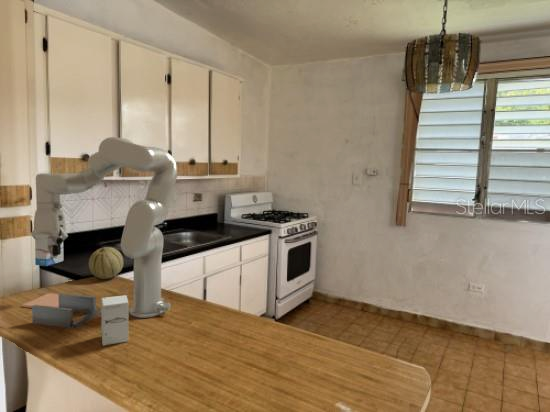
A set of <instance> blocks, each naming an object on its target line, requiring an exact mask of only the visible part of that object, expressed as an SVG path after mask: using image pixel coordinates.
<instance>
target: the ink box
mask: <svg viewBox="0 0 550 412" xmlns="http://www.w3.org/2000/svg"><path fill="white" fill-rule="evenodd" d="M60 235H61V234H60ZM60 237H62V236H60ZM56 239H57V238H56ZM53 245H54V242H53V239H52V237H51V235H50V234H44V233H36V234H35V239H34V248H35V249H34V254H35V263H34V264H35V265H34V266H42V267H49V266H51V265H55V264H58V263H61V262H64V241H63V242H62V244H61V254H60V255H57V256H53Z"/></svg>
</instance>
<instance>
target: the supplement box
mask: <svg viewBox="0 0 550 412" xmlns="http://www.w3.org/2000/svg"><path fill="white" fill-rule="evenodd" d="M100 301H101V302H100V306H101V308H100V309H101V313H100V315H101V329H100V330H101V332H100V333H101V340H102V341H101V343H102V346H103V347H105V346H109V345H113V344H120V343H126V342H129V337H130V336H129V333H130V332H129V315H130V314H129V309H130V308H129V305H130V304H129V300H128V295H126V294H125V295H118V296H117V295H115V296H107V297H106V296H105V297H101V298H100Z"/></svg>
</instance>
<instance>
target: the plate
mask: <svg viewBox="0 0 550 412" xmlns="http://www.w3.org/2000/svg"><path fill="white" fill-rule="evenodd" d="M58 294H59V293H51V292H48V293H46V294H44V295H41V296H39V297H37V298H35V299H33V300H30V301H27V302H26V303H23V304H21V308H26V309H32V306H33V305H42V306H51V307H59V296H58Z"/></svg>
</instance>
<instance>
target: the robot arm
mask: <svg viewBox="0 0 550 412" xmlns="http://www.w3.org/2000/svg"><path fill="white" fill-rule="evenodd" d="M87 163H88V166H87V167H86V168H84V169H82V170H80V171H79V172H77V173H48V172H47V173H41V172H40V173H37V174H36V176H35V195H36V196H35V198H36V203H35V204H36V210H35V212H34V218H33V230H32V231H31V232H30V235H31V236H32V238H34V239H33V240H35V234H36V233H44V234H50V235H51V237H52V239H53V242H54V245H53V256H57V255H60V254H61V244H62V242H63V243H64V241H66V239H68V237H69V235H68V233H67V232H66V229H67V228H66V220H65V215H64V211H63V210H61V209H62V208H63V204H61V196H62V195H71V194H81V193H84V192H86V191H89V190H90V189H92V188H94V187H95V186H97V185H98V184H100V183H101V182H102V181H103V180H104V179H105V177H106V176H108V175H110V174H111V173H112V172H115V171H116V170H118V169H120V168H126V169H129V170H134V171H137V172H144V173H146V172H147V173H148V172H151V173H153V176H152V178H151V180H150V181H149V184H148V188H147V192H146V195H145V197H144V199H141V200H137V201H136V202H134V203H133V204H132V205H131V207H130V208H129V210H128V212H127V215H126V218H125V224H124V227H123V231H122V235H121V239H120V248H121V251H122V253H123V255H124V256H126V257H127V258H129V259H133V260H134V261H133V305H132V306H131V307H130V308H129V315H130V316H132V317H134V318H138V319H139V318H141V319H142V318H143V319H146V318H147V319H149V318H154V317H158V316H160V315H162V314H163V313H165V311H170V310H171V307H172V305H171V302H165V299H164V297H162V258H163V250H164V242H165V241H164V235H163V233H162V231H161V230H160V229H159V228H158V227H156V226H157V225H160V224H162V223H164V221H165V220H166V219H167V217H168V213H169V209H170V206H171V201H172V198H173V195H174V194H173V193H174V189H175V186H176V181H177V177H178V165H177V162H176V160H175V159H174V157H173V156H172V155H171V153H169V152H168V151H166V150H164V149H162V148H159V147H155V146H154V147H153V146H145V145H140V144H136V143H134V142H132V140H130V139H127V138H122V137H114V136H110V137H107V138H105V139H103V140H102V141H100V144H99V146H98V151H97V152H95V153H93V154H91V155H90V156H89V157H88V159H87ZM60 234H61V235H60ZM60 236H62V237H60ZM56 238H57V239H56Z"/></svg>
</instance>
